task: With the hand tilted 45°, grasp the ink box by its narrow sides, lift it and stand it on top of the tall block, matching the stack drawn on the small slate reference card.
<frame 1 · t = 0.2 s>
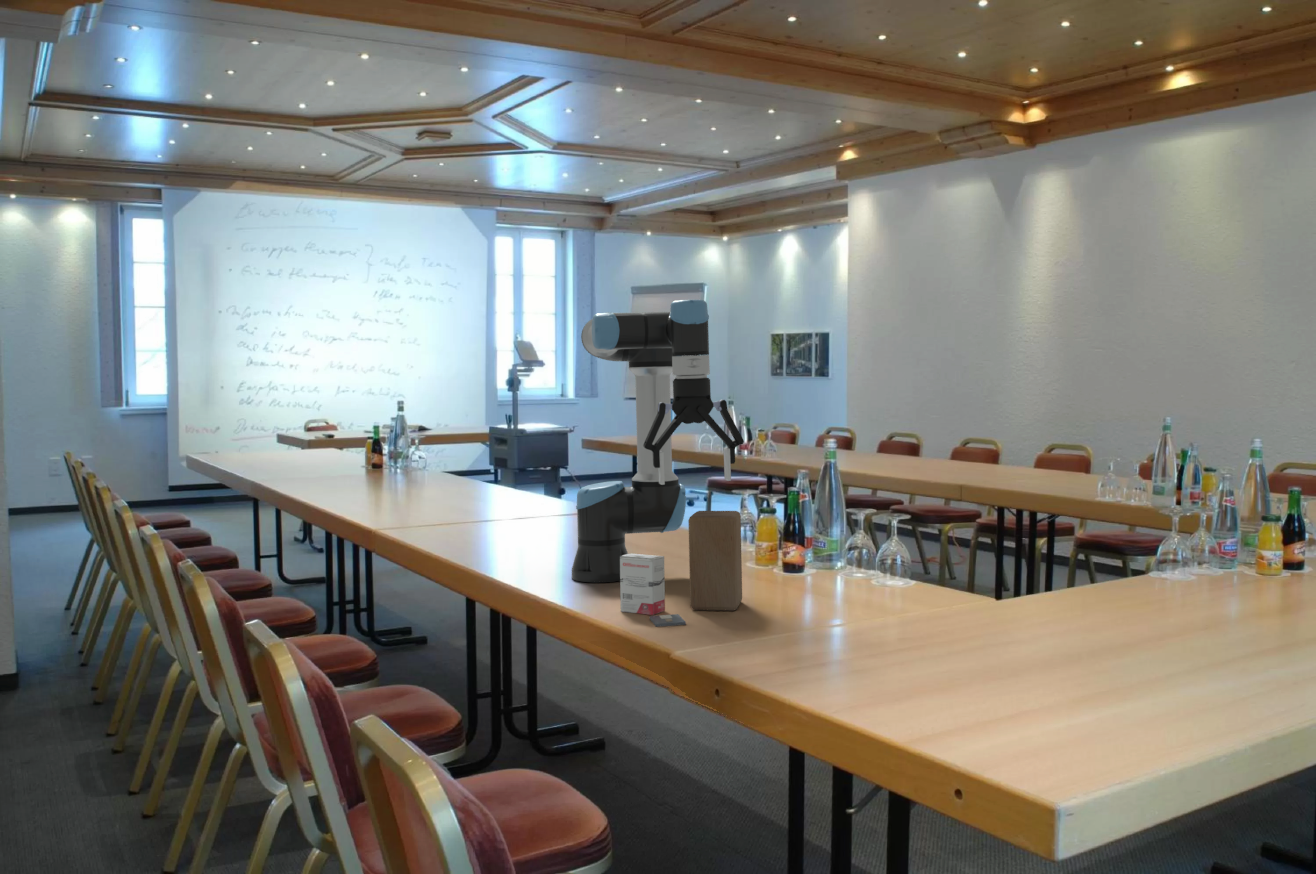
hand: (694, 482, 215), 28 cm above the table, tool pointing down, fingers open, 13 cm apart
ink box: (643, 612, 223), on the table
block: (716, 607, 226), on the table
reference card: (667, 621, 213), on the table
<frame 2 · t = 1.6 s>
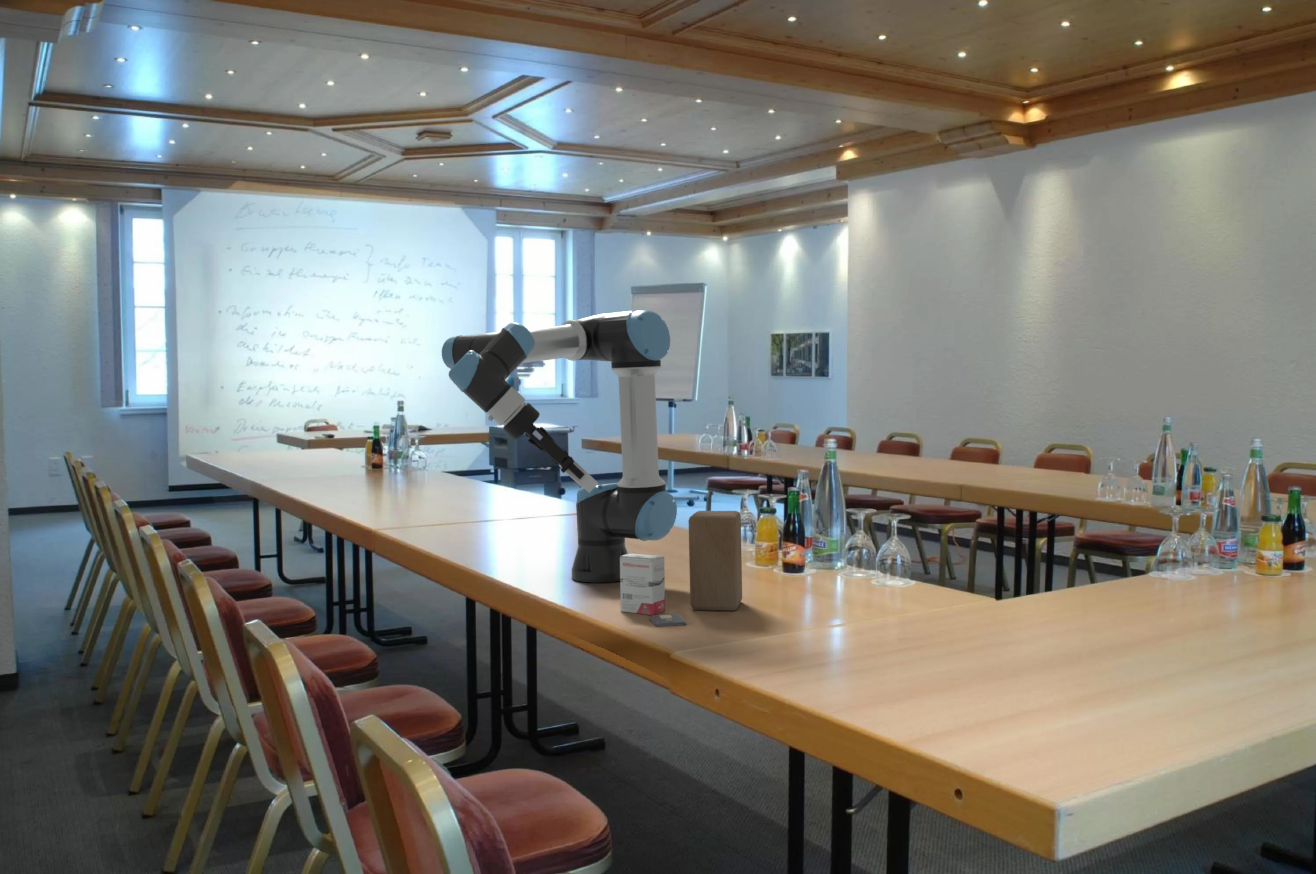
hand: (589, 484, 219), 27 cm above the table, tool tilted 45°, fingers open, 13 cm apart
nothing on the table moved.
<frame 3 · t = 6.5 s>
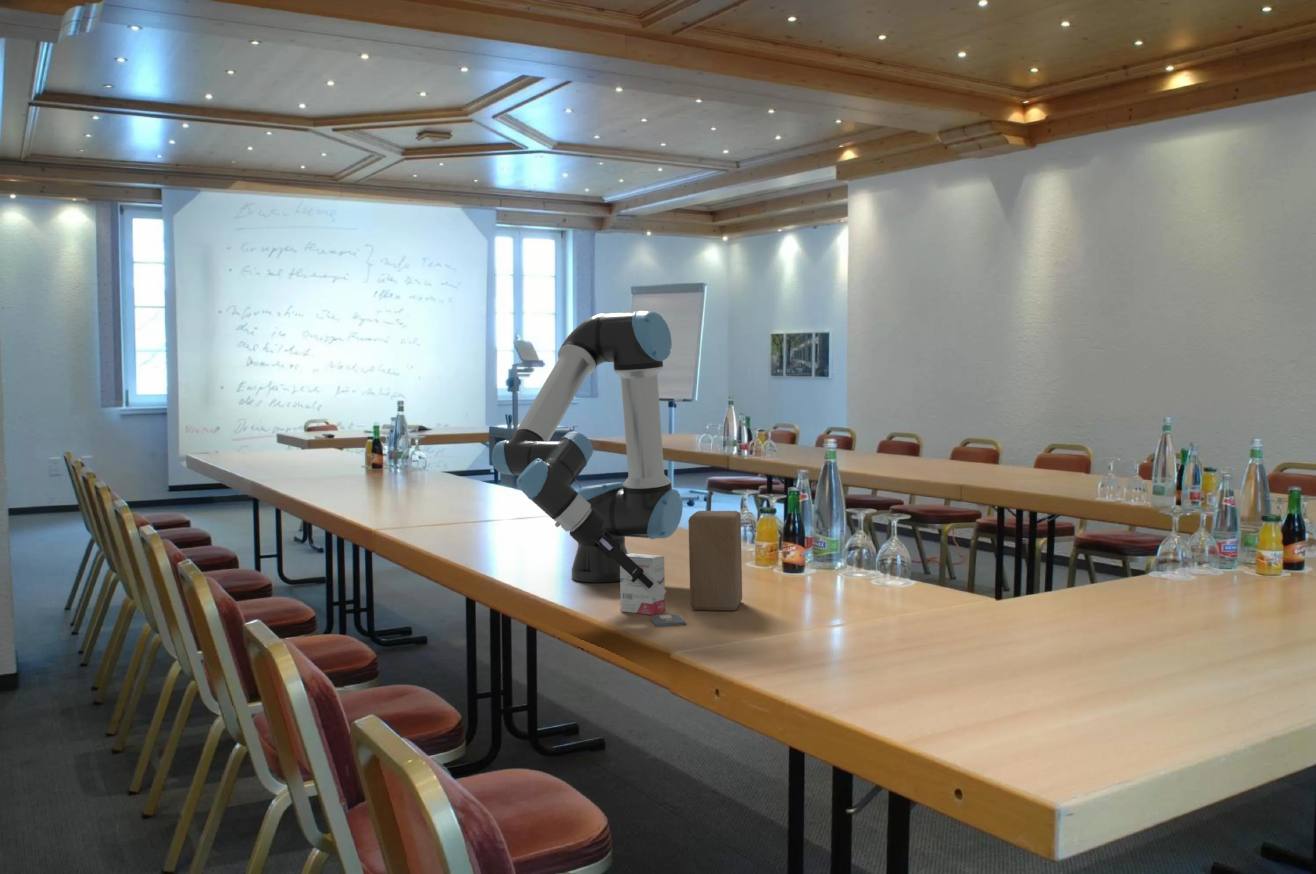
hand: (657, 591, 223), 4 cm above the table, tool tilted 45°, fingers closed on ink box, 9 cm apart
ink box: (643, 612, 223), on the table, touching gripper
everything else where it was.
when the fingers open (25 cm above the table, at t = 12.2 s): ink box drops 1 cm, resting on block.
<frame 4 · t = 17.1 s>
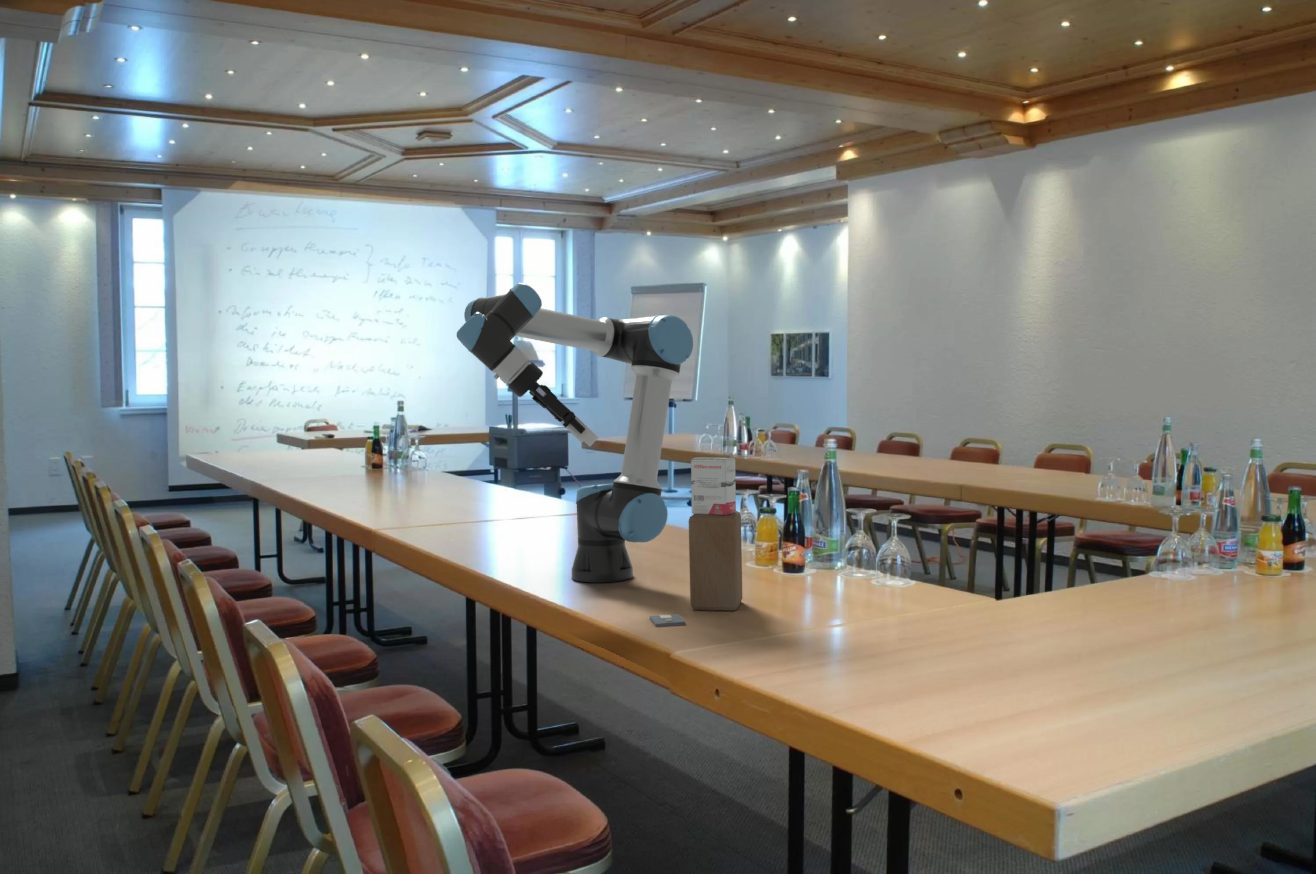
hand: (590, 440, 231), 36 cm above the table, tool tilted 45°, fingers open, 13 cm apart
ink box: (714, 514, 225), point 20 cm above the table, touching block
block: (716, 607, 226), on the table, touching ink box
at the end: ink box 0.3 cm off-centre on the block, point 20.0 cm above the block's base; ink box tilted 0°; block moved 0.2 cm from its start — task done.
